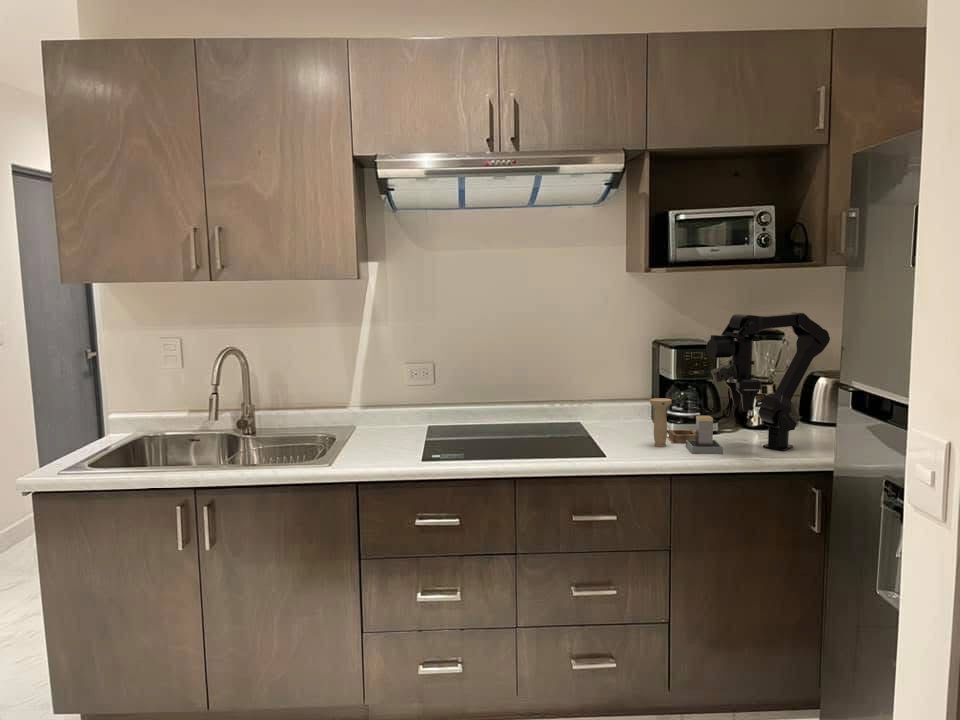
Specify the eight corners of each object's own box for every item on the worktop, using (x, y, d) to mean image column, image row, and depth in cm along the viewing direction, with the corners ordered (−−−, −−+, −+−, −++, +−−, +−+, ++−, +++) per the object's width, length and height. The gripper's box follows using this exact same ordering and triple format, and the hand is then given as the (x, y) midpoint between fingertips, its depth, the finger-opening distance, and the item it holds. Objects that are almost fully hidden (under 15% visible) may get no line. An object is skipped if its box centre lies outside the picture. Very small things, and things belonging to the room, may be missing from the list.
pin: (709, 447, 204) (709, 415, 202) (712, 451, 200) (713, 418, 198) (695, 447, 204) (696, 415, 203) (698, 451, 200) (699, 418, 199)
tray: (714, 447, 206) (715, 439, 206) (722, 455, 197) (722, 447, 197) (685, 447, 207) (685, 439, 206) (692, 455, 198) (692, 447, 198)
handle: (647, 445, 210) (648, 398, 208) (667, 445, 210) (668, 398, 209) (652, 449, 205) (652, 401, 203) (672, 448, 206) (673, 400, 204)
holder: (694, 438, 218) (694, 429, 218) (701, 445, 209) (701, 435, 209) (666, 438, 219) (666, 429, 219) (671, 445, 210) (671, 435, 210)
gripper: (706, 353, 208) (705, 402, 210) (722, 361, 190) (721, 415, 192) (743, 353, 207) (741, 402, 209) (763, 360, 189) (761, 415, 191)
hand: (740, 408), depth 200 cm, fingers open, 9 cm apart
